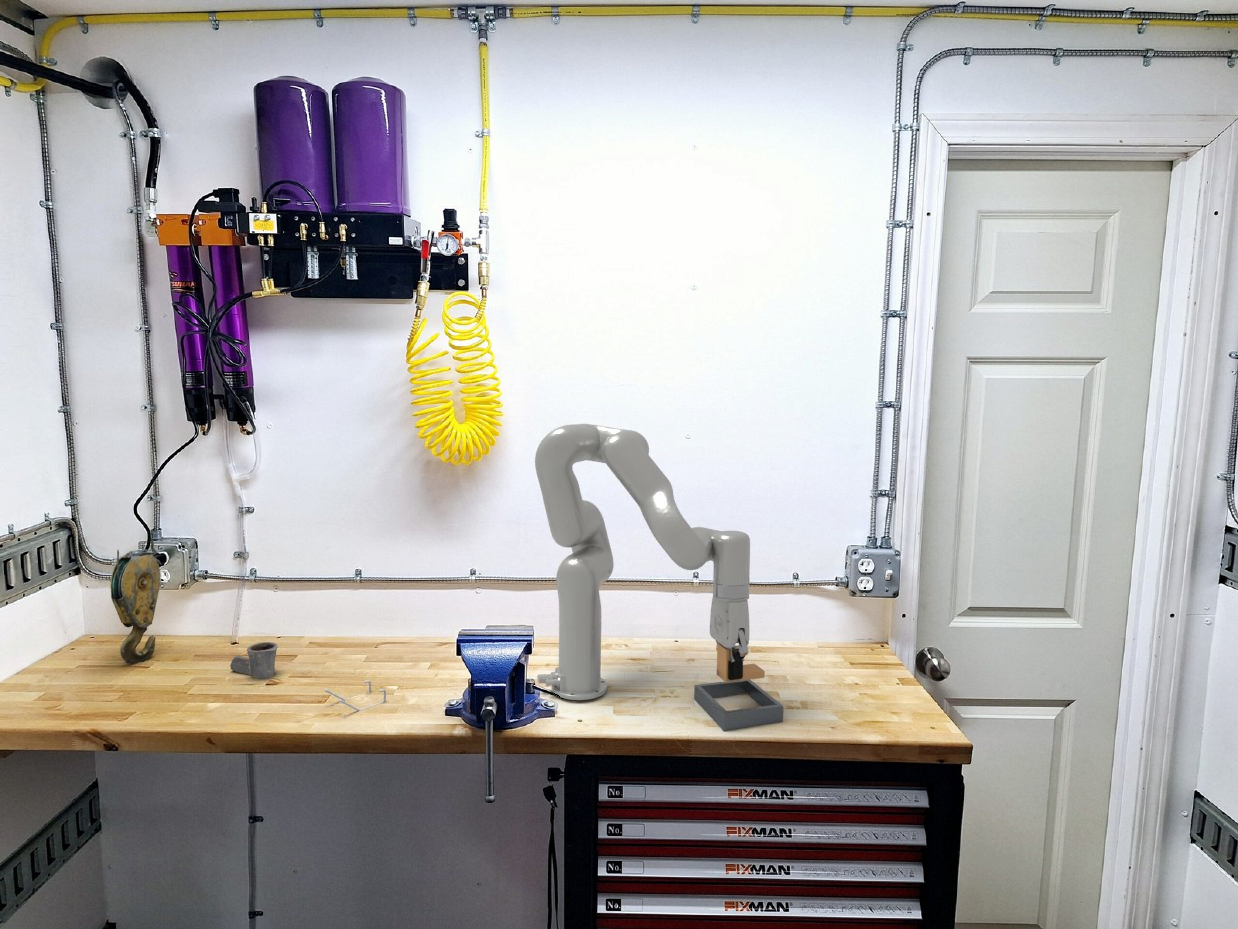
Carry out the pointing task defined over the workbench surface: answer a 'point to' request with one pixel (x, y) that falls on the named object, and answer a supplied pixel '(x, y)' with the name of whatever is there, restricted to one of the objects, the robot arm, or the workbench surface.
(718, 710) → the well box
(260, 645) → the pipe
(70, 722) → the workbench surface
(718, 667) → the tan stepped block
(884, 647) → the workbench surface
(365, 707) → the wall mount rack
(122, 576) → the pulley block
